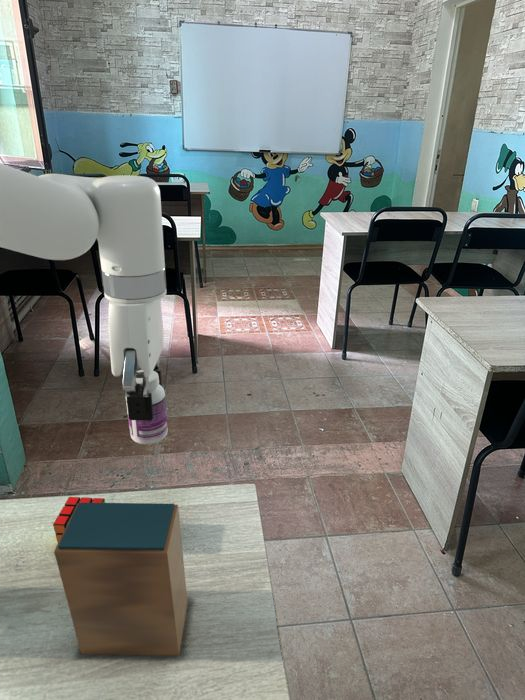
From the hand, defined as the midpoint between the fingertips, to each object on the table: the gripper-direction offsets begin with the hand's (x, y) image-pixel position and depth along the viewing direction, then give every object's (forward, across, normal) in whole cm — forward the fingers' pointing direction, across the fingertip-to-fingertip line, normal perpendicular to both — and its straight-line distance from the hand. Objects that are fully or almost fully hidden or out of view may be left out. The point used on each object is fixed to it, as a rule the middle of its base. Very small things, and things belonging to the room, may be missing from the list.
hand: (146, 405), depth 67 cm
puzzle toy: (+23, +3, -11) cm, 26 cm away
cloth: (+5, +17, 0) cm, 18 cm away
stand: (+23, +17, +1) cm, 29 cm away
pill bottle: (+5, 0, 0) cm, 5 cm away
